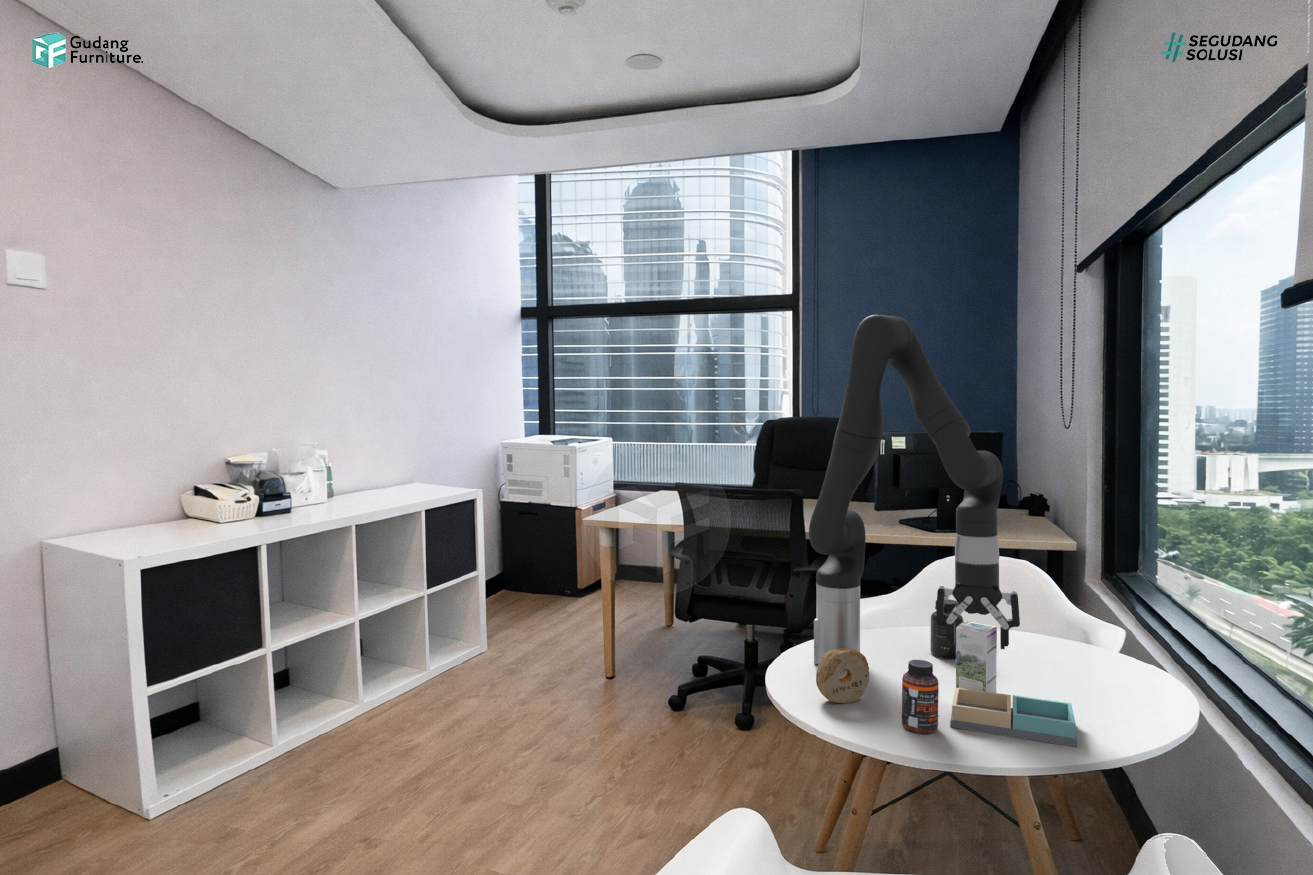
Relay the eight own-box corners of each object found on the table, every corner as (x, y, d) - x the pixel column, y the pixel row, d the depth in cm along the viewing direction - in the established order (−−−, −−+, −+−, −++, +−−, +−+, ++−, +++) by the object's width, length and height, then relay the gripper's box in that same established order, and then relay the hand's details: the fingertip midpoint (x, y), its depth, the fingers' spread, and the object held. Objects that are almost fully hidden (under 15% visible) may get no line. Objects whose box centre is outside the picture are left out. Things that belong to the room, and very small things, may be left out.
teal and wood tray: (950, 726, 131) (950, 705, 130) (954, 706, 140) (954, 686, 139) (1077, 747, 122) (1077, 724, 122) (1072, 723, 131) (1072, 702, 131)
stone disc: (861, 694, 146) (861, 642, 146) (871, 701, 142) (871, 648, 142) (812, 700, 143) (812, 647, 143) (821, 707, 140) (821, 654, 139)
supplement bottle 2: (969, 658, 166) (970, 604, 166) (942, 660, 165) (942, 606, 164) (950, 648, 173) (951, 596, 172) (924, 651, 171) (924, 598, 171)
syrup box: (997, 702, 141) (998, 625, 141) (986, 711, 137) (986, 632, 137) (966, 694, 145) (967, 619, 145) (954, 703, 141) (954, 626, 140)
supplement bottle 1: (918, 737, 127) (918, 670, 126) (894, 724, 132) (894, 660, 132) (945, 731, 129) (946, 665, 128) (920, 718, 134) (921, 655, 134)
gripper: (934, 559, 140) (935, 647, 140) (1019, 564, 134) (1020, 655, 134) (937, 553, 147) (938, 636, 147) (1019, 557, 141) (1019, 644, 141)
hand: (977, 645), depth 141 cm, fingers open, 8 cm apart
